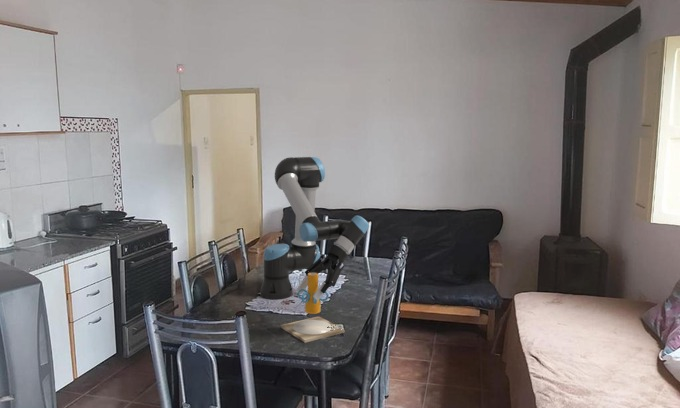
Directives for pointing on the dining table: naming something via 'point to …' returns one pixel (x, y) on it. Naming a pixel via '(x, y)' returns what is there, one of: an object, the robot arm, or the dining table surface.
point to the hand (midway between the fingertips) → (307, 294)
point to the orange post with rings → (311, 303)
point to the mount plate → (311, 329)
